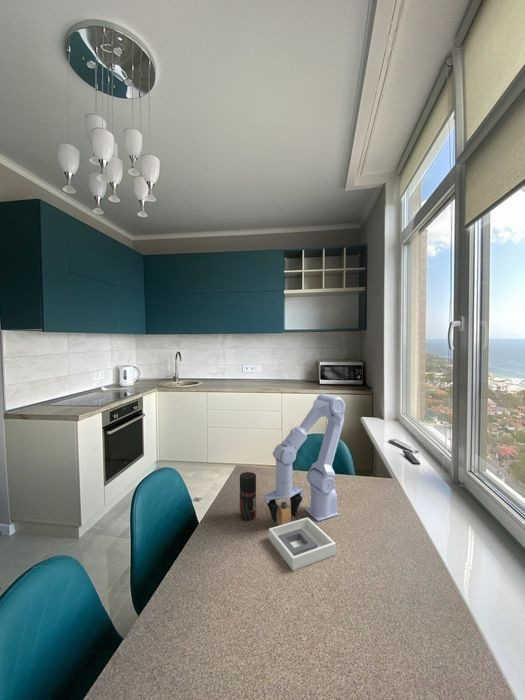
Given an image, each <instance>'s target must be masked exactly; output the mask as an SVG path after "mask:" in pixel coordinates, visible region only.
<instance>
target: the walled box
mask: <svg viewBox="0 0 525 700" xmlns="http://www.w3.org/2000/svg"><path fill="white" fill-rule="evenodd" d="M301 528H302V529H303V530H304V531H305V533H306V534H307V535H308V536H309V537H310V538H311V539H312V540H313V541H314V542H315V543H316V544H317V545H318V548H315V549H313V550H310V551H307V552H304V553H301V554H298V555H296V556H294V555H293V554H292V553H291V552H290V551H289V549H288V548H287V547H286V546H285V545H284V543H283V542H282V541H281V540H280V538H279V537H278V535H282V534H285V533H288V532H291V531H295V530H298V529H301ZM268 541H270V543H271V544H272V546H273V547H274V549H275V550H276V551H277V552H278V554H279V555H280V556H281V558H282V559H283V560H284V561H285V563H286V564H287V565H288V567H289V568H290V569H291V570H292V572H294V571H298V570H300V569H302V568H305V567H307V566H310V565H311V566H312V565H313V564H315V563H316V564H317V563H319V562H322V561H323V560H327V559H329V558H332V557H335V556H337V543H336V542H335V540H333V539H332V537H330V536H329V535H328V534H327V533H325V531H323V530H322V529H321V528H320V527H319V526H318V525H317V524H316V523H315V522H313V521H312V519H310V518H309V517H308V516H307V517H304V518H303V517H302V518H299V519H297V520H294V521H291V522H290V523H286V524H283V525H280V526H279V525H276V526H274V527H270V528H268ZM290 544H291V545H292V546H293V547H294V548H296V547H298V546H301V545H304V544H303V543H302V541H301V540H300V539H299V540H296V541H293V542H290Z"/></svg>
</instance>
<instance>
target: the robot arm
mask: <svg viewBox="0 0 525 700" xmlns="http://www.w3.org/2000/svg"><path fill="white" fill-rule="evenodd" d="M345 410H346V403H345V402H344V400H343V398H342V397H340V396H333V395H330V394H327V393H320V394H319V395H317V396H316V399H315V400H313V405H312V408H311V409H310V410H309V411H308V413H307V414H306V416H305V418H304V419H303V421H301V423H300V425H299V426H295V427H293V428H291V429H290V431H289V433H288V435H287V436H286V437H285V438H284V440H282V441H281V443H279V444H277V445H276V446H275V447H274V450H273V451H272V455H273V457H274V458H275V490H273V491H271V492H270V493H269V492H268V493H267V494H264V496H263V501H264V502H265V503H266V504H267V507H268V509H269V511H270V515H271V520H272V521H273V523H277V509H278V506H279V505H278V504H277V500H282V499H283V500H284V499H285V500H286V499H289V500H290V508H291V517H293V518H296V515H297V513H298V509H299V506H300V504H301V503H302V501H303V496H301V495H304V488H302V487H301V486H297V487H293V463H294V462H295V461H296V459H297V453H298V450H300V448H301V447H302V445H303V444H304V443H305V442H306V440H307V439H308V433H309V431H310V430H311V429H312V428H313V427H314V425H315V424H317V422H318V421H319V420H320V419H321V418H322V417H325V418H326V419H327V423H326V425H327V426H326V428H325V432H324V436H323V439H322V443H321V446H320V450H319V453H318V457H317V460H316V461H315V462H313V463H311V467H310V469H309V470H308V471H307V474H306V480H307V482H308V483H309V487H310V507H308V508H305V512H307V513H308V514H309V515H310V516H312V518H313V519H314V520H316V521H317V522H320V521H323V520H327V519H330V518H333V517H337V516H339V512H338V495H337V492H336V489H335V485H336V482H335V479H336V473H335V470H334V469H333V468H334V467H333V462H334V459H335V455H336V453H337V448H338V445H339V440H340V437H341V432H342V430H343V427H344V426H343V425H344V423H345V422H344V421H345Z"/></svg>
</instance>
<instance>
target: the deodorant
mask: <svg viewBox="0 0 525 700" xmlns="http://www.w3.org/2000/svg"><path fill="white" fill-rule="evenodd" d="M256 518H257V474H256V473H254V472H253V471H252V472H251V471H244V472H242V473H240V474H239V519H240V520H242V521H245V522H249V521H250V522H251V521H253V520H255V519H256Z"/></svg>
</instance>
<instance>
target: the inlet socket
mask: <svg viewBox="0 0 525 700" xmlns="http://www.w3.org/2000/svg"><path fill="white" fill-rule="evenodd" d="M278 537H279V538H280V540H281V541H282V542H283V543H284V545H285V546H286V547H287V548H288V549H289V551H290V552H291V553H292V554H293V555H294V556H296V555H298V554H301V553H304V552H307V551H310V550H313V549H315V548H318V545H317V544H316V543H315V542H314V541H313V540H312V539H311V538H310V537H309V536H308V535H307V534H306V533H305V531H304V530H303V529H302V528H301V529H298V530H295V531H291V532H288V533H285V534H282V535H278ZM299 539H300V540H301V541H302V543H303V544H304V545H301V546H298V547H296V548H294V547H293V546H292V545H291V544H290V542H293V541H296V540H299Z"/></svg>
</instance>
